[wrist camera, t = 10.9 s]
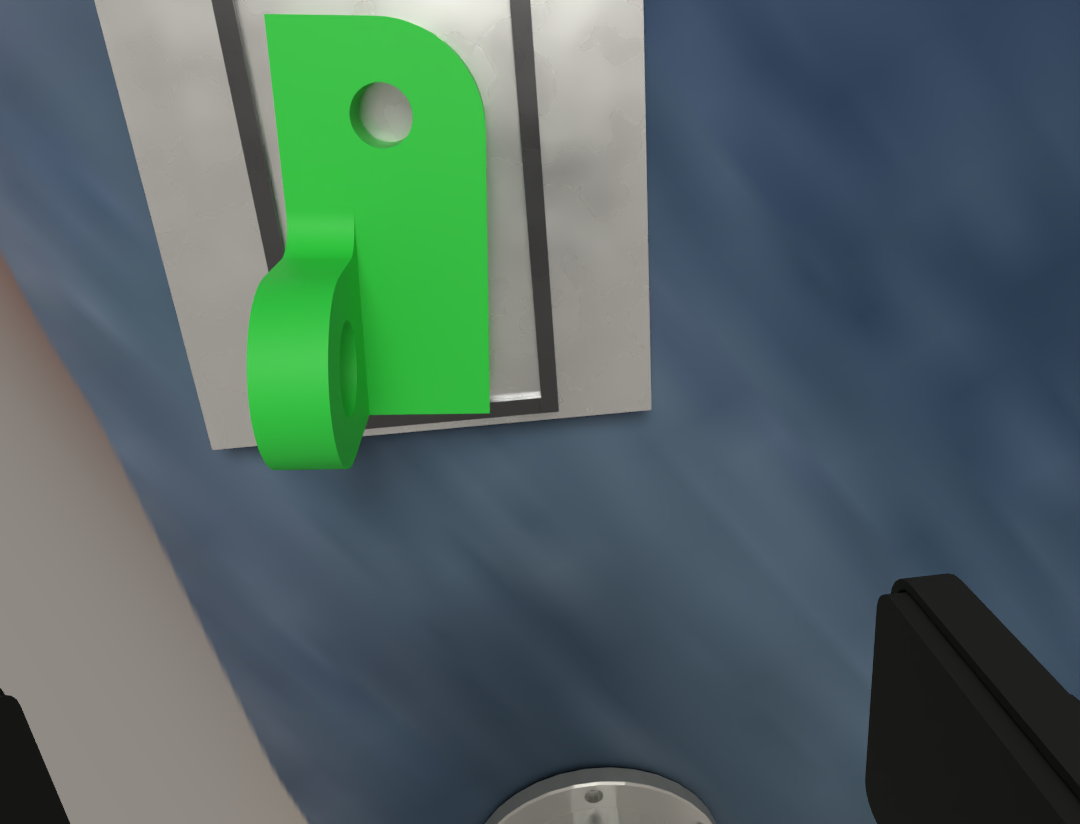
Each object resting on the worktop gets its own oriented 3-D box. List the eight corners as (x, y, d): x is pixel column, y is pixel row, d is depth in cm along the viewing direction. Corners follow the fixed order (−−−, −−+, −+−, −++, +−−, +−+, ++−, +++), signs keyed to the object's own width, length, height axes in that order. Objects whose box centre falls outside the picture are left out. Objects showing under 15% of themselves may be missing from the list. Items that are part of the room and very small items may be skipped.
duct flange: (644, 394, 31) (652, 413, 30) (224, 432, 31) (209, 453, 29) (632, -90, 25) (643, -101, 23) (102, -50, 25) (74, -57, 23)
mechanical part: (489, 390, 29) (490, 503, 22) (320, 392, 29) (263, 507, 22) (484, 20, 25) (482, 5, 17) (280, 17, 24) (191, 1, 17)
